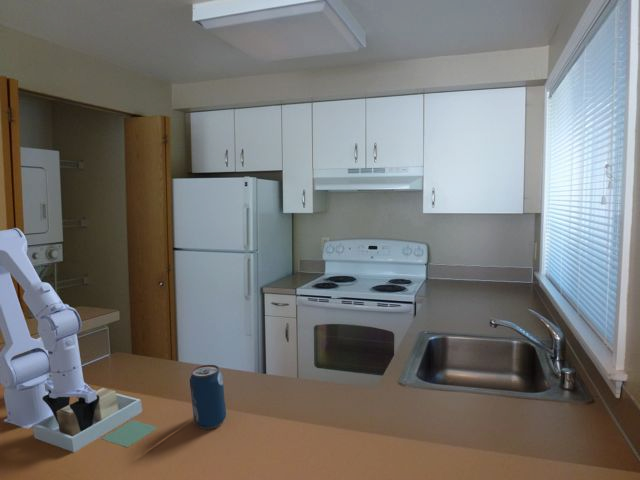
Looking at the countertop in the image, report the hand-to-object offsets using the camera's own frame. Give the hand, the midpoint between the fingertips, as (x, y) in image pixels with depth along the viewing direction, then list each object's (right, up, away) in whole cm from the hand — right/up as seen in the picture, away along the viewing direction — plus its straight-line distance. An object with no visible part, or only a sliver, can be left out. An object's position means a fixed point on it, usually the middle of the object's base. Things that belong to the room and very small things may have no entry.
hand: (75, 426), depth 105 cm
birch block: (+3, 0, +6) cm, 7 cm away
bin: (+2, -1, +3) cm, 4 cm away
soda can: (+29, 0, +2) cm, 29 cm away
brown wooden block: (0, -1, 0) cm, 1 cm away
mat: (+12, -1, -1) cm, 12 cm away
